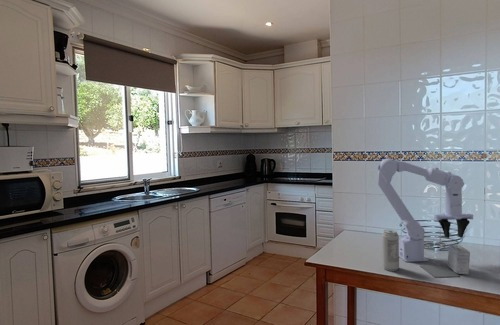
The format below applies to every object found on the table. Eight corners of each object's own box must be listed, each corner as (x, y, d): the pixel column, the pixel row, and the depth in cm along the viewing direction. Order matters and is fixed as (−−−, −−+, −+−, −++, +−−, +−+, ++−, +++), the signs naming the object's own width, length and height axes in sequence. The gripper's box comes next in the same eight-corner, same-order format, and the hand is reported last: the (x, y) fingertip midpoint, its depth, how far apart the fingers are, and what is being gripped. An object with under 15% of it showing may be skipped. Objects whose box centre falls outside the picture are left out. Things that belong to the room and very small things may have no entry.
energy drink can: (394, 265, 130) (394, 228, 130) (402, 271, 124) (401, 232, 124) (379, 266, 130) (379, 229, 129) (386, 272, 124) (386, 233, 123)
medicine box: (468, 275, 118) (470, 252, 118) (455, 273, 119) (457, 250, 119) (459, 266, 126) (461, 245, 125) (446, 265, 127) (448, 244, 126)
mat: (434, 277, 118) (434, 276, 118) (419, 266, 129) (419, 265, 128) (459, 276, 117) (459, 276, 117) (442, 265, 128) (442, 264, 128)
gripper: (440, 206, 127) (441, 240, 128) (478, 205, 127) (478, 239, 128) (431, 203, 134) (431, 235, 135) (466, 202, 134) (466, 234, 135)
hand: (453, 237), depth 132 cm, fingers open, 5 cm apart
